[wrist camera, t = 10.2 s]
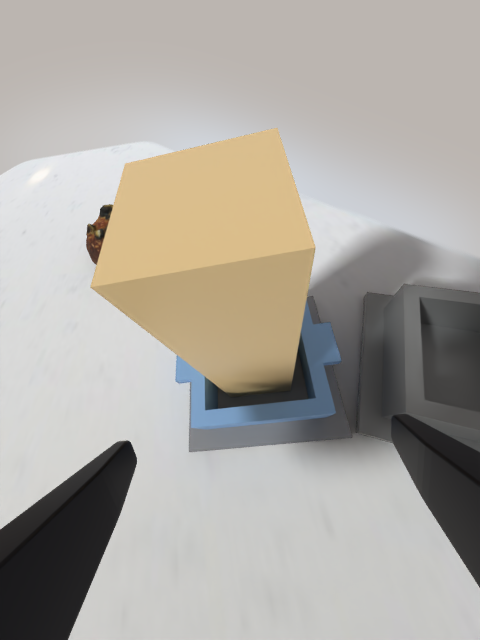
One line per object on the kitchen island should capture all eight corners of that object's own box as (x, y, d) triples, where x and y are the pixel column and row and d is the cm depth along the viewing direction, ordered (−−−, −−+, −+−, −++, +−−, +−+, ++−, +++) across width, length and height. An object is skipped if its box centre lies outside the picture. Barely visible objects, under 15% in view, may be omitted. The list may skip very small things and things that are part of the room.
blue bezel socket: (349, 437, 14) (369, 437, 11) (192, 451, 15) (168, 455, 12) (311, 300, 19) (318, 271, 15) (194, 318, 20) (177, 295, 16)
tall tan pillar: (290, 390, 15) (315, 247, 4) (231, 397, 16) (90, 287, 4) (280, 335, 17) (277, 127, 6) (228, 342, 17) (125, 163, 6)
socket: (574, 494, 11) (688, 516, 8) (356, 432, 14) (377, 431, 11) (527, 318, 15) (591, 287, 12) (364, 296, 18) (382, 266, 15)
